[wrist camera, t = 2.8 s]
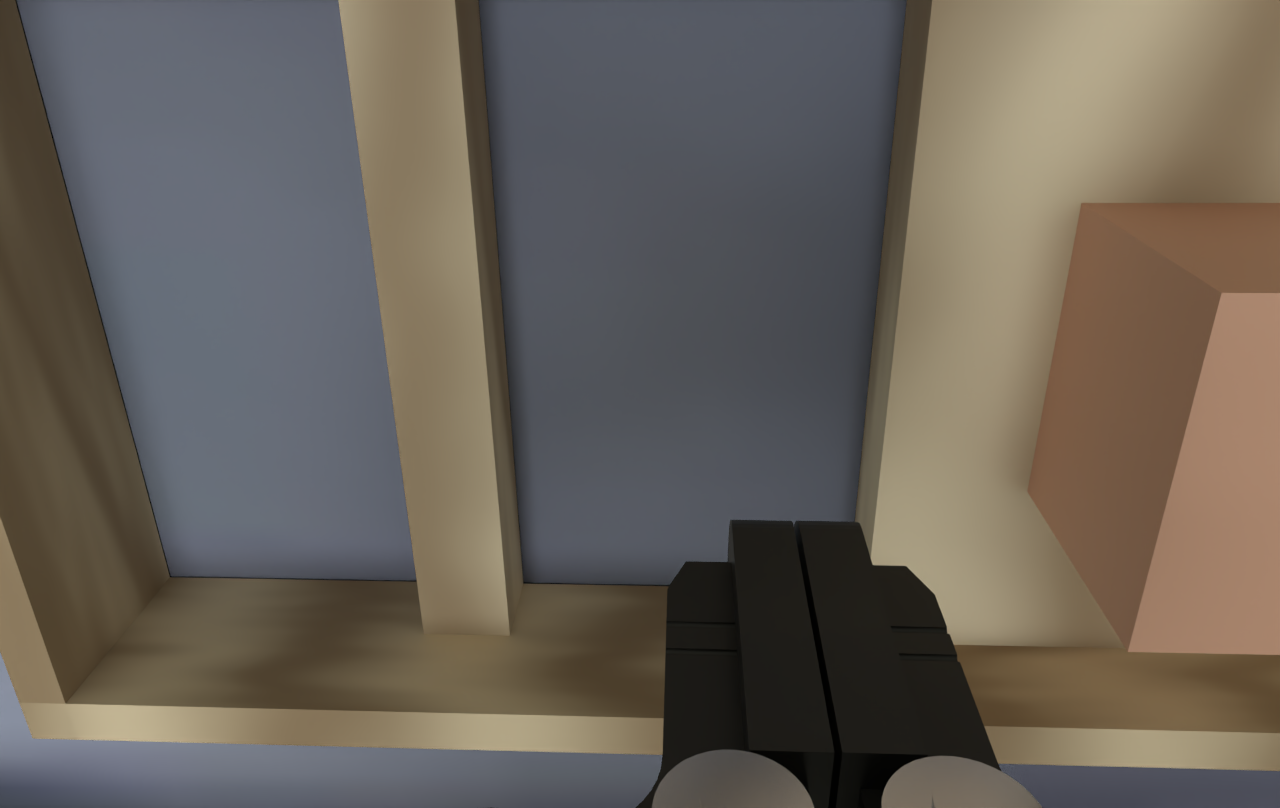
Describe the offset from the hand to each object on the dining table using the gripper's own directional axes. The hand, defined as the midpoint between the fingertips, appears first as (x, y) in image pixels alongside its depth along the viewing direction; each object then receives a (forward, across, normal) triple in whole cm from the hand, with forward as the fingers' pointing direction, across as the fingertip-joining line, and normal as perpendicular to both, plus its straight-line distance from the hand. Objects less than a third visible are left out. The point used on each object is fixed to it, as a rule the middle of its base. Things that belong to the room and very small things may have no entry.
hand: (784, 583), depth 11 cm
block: (+8, -9, 0) cm, 12 cm away
